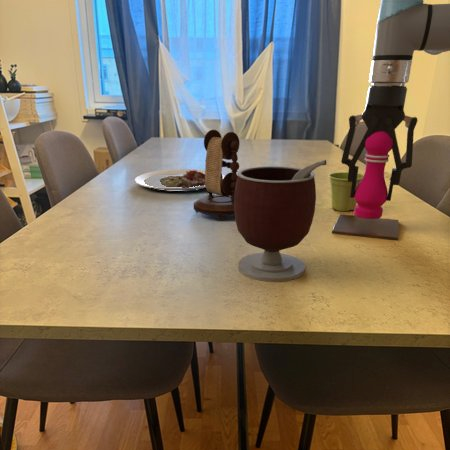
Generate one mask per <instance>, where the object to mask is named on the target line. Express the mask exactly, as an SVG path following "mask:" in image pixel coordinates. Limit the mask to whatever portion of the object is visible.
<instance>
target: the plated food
mask: <svg viewBox="0 0 450 450" xmlns="http://www.w3.org/2000/svg"><path fill="white" fill-rule="evenodd" d="M179 174H183V176H168V177H164V178H161V179H159V180H160V182H161V184H162V185H164V186H166V187H182V188H158V187H153V186H149V185H147V184H145V182H144V180H145V179H147V178H149V177H152V176H157V175H179ZM225 176H226V175H225V174H223V173H222V177H223V179H224V177H225ZM134 182H135V183H136V185H139V186H140V187H145V188H149V189H151V188H156V189H164V190H196V189H203V188H206V186H204V185H205V169H190V168H189V169H188V168H183V169H178V168H177V169H163V170H156V171H155V170H154V171H149V172H147V173H146V172H145V173H142V174H139V175H138V176H136V177H135V178H134ZM199 185H200V186H199ZM193 186H194V187H195V186H197V187H195V188H189V187H193ZM198 186H199V187H198ZM203 190H204V189H203ZM196 191H197V190H196Z"/></svg>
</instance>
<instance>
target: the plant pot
mask: <svg viewBox="0 0 450 450" xmlns="http://www.w3.org/2000/svg"><path fill="white" fill-rule="evenodd" d="M363 176H364V174H362V173H358V175H357V182H356V188H357V186H358V185H359V183H360V181H361V180H362V178H363ZM328 178H329V182H330V192H331V193H330V194H331V197H330V198H331V209H333V210H334V209H335V211H340V212H349V211H354V209H355V206H357V205H358V204H357V203H356V201H355V199H354V198H350V195H351V188H352V182H348V171H340V172H339V171H338V172H331V173H329V174H328ZM355 191H356V189H355Z"/></svg>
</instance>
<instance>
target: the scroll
mask: <svg viewBox="0 0 450 450" xmlns="http://www.w3.org/2000/svg"><path fill="white" fill-rule="evenodd" d="M240 143H241V141H240V138H239V136H238V134H237V133H235V132H234V131H228V132H227V133H225V134H224V135H223V136H222V135H221V133H220V131H218V130H216V129H209V131H207V132H206V134H205V136H204V138H203V147H204V150H205V151H206V153H205V154H206V155H205V167H204V168H205V169H204V170H205V186H206V189H205V190H206V191H207V195H205V196H202V197H199V198H198V199H197V200H194V201H193V210H194V211H195V213H200V214H203V215H207V216H208V215H209V216H217V220H218V221H222V219H223V216H235V213H234V193H235V187H236V181H237V177H238V172H239V169H240V163H239V162H238V160H239V159H238V153H239V149H240ZM230 161H231V162H230ZM223 168H227V169H230V171H231V172H228V173H226V175H225V177H224V179H223V177H222V174H223V173H222V172H223Z"/></svg>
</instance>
